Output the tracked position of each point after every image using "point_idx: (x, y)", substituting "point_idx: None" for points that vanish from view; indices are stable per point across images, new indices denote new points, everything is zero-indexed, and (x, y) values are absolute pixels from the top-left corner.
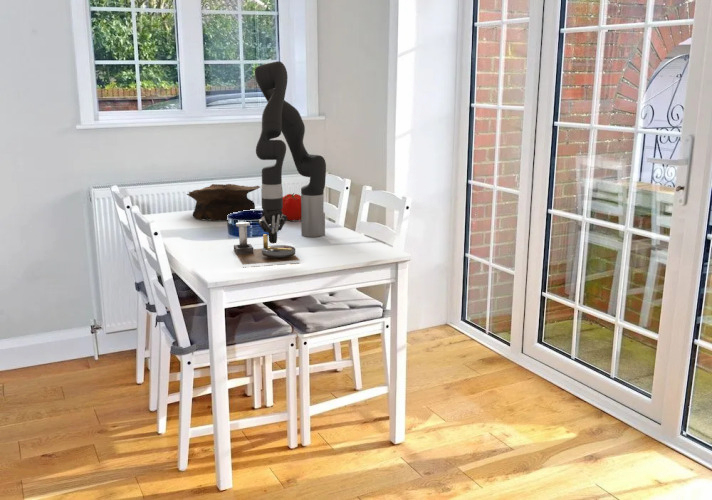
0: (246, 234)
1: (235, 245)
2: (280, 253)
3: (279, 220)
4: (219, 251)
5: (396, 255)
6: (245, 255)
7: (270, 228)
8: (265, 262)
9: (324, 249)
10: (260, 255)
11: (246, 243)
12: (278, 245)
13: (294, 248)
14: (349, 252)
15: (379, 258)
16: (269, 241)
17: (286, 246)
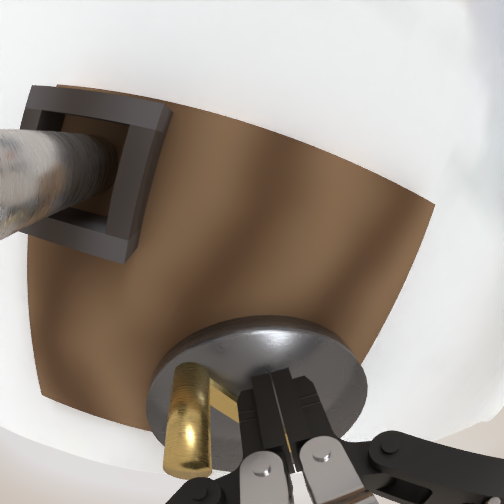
0: (17, 227)
1: (32, 109)
2: (221, 470)
3: (461, 500)
4: (41, 12)
5: (500, 405)
6: (72, 263)
7: (285, 496)
8: (143, 427)
9: (500, 291)
10: (163, 318)
11: (70, 204)
12: (323, 349)
13: (345, 429)
14: (496, 358)
15: (471, 422)
16: (241, 395)
17: (345, 388)
